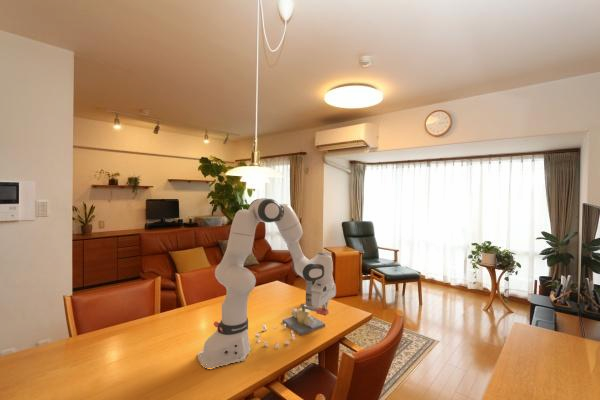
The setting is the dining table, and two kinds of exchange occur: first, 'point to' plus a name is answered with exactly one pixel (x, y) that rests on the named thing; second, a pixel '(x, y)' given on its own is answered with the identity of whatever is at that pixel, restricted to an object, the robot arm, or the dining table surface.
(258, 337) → the game piece set
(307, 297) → the coffee box
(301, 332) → the valve base
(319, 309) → the valve lever
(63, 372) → the dining table surface
